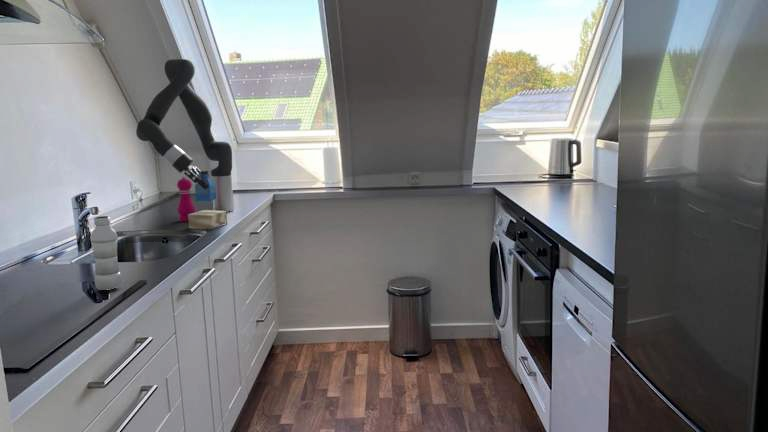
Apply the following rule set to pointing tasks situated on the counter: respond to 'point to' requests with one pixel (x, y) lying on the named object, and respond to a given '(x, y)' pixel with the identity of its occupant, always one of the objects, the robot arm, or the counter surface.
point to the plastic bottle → (105, 254)
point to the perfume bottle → (203, 193)
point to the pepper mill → (185, 199)
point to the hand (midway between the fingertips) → (209, 186)
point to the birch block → (207, 219)
